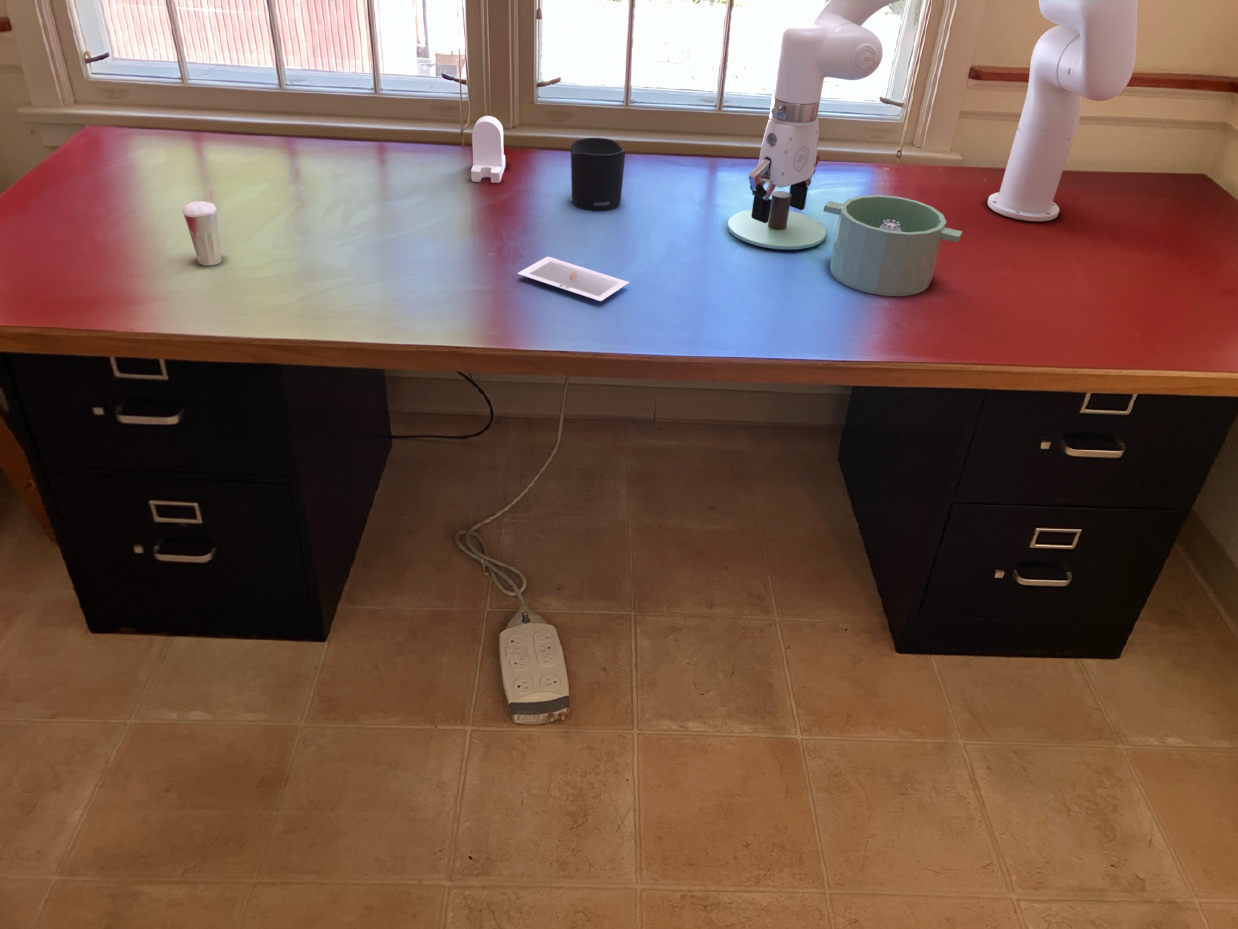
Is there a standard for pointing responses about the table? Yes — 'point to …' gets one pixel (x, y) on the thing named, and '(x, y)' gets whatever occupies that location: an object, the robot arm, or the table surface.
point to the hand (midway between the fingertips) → (777, 213)
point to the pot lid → (778, 226)
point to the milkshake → (203, 230)
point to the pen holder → (597, 173)
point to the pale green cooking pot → (887, 244)
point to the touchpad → (574, 278)
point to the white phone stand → (488, 150)
